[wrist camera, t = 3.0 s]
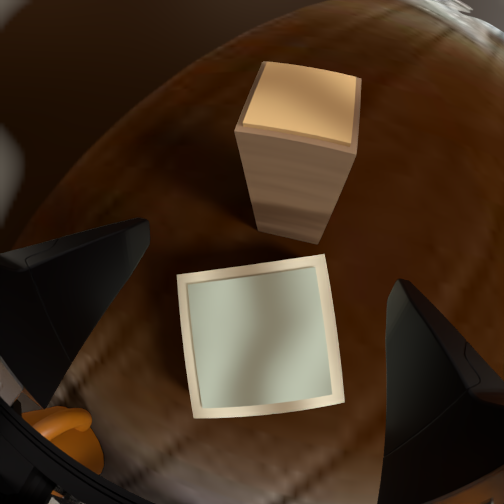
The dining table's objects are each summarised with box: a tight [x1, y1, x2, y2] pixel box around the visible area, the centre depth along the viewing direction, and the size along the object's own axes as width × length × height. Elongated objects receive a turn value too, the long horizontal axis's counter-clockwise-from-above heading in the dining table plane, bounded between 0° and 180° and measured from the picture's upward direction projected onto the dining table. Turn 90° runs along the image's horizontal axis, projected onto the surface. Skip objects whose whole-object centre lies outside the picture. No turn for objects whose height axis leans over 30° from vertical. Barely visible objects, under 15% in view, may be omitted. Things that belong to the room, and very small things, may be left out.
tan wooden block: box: [234, 61, 361, 245], centre depth 17 cm, size 5×5×13 cm
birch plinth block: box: [177, 254, 344, 418], centre depth 19 cm, size 10×10×4 cm
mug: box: [22, 406, 104, 498], centre depth 16 cm, size 9×12×9 cm
